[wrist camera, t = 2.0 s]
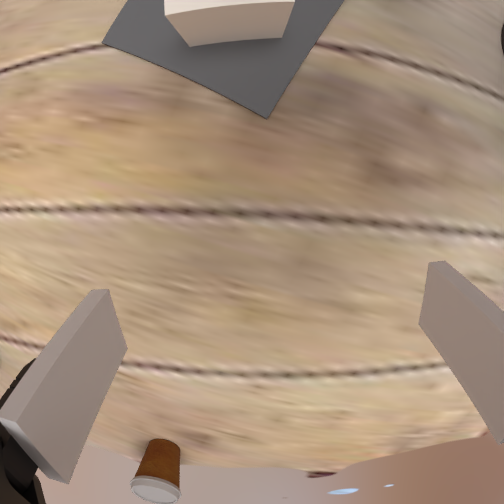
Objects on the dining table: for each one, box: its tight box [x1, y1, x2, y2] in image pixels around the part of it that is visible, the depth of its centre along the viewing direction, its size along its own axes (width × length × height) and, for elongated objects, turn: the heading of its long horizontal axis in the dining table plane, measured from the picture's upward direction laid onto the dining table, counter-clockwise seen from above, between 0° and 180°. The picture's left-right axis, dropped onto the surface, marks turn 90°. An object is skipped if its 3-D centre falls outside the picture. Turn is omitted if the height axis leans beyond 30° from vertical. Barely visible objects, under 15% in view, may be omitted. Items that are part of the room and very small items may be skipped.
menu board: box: [164, 0, 295, 47], centre depth 24 cm, size 2×10×11 cm, turn 95°
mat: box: [102, 0, 344, 119], centre depth 28 cm, size 22×20×1 cm
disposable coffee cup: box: [130, 439, 181, 504], centre depth 48 cm, size 10×10×12 cm
